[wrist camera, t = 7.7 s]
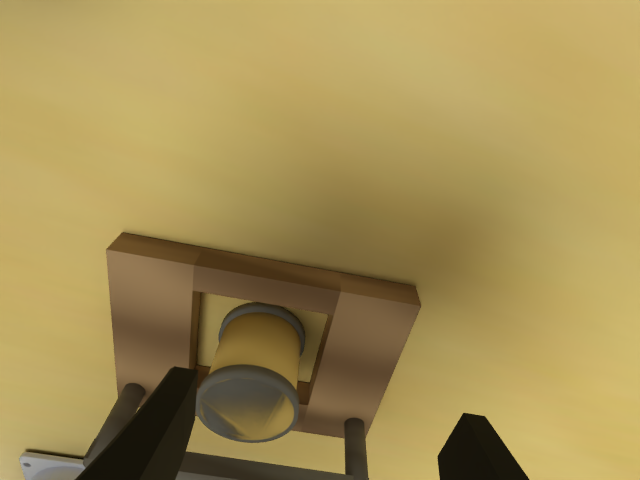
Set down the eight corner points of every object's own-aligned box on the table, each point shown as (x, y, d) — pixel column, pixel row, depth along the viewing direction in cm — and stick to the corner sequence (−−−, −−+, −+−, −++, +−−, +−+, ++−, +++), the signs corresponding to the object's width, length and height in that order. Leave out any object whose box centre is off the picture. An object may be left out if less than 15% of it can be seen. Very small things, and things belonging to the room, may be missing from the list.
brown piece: (362, 418, 26) (369, 519, 21) (130, 382, 25) (77, 479, 20) (415, 286, 21) (442, 378, 16) (122, 232, 20) (46, 312, 14)
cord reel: (300, 368, 24) (293, 447, 20) (221, 359, 24) (196, 437, 20) (309, 307, 22) (303, 381, 17) (221, 297, 22) (193, 369, 17)
